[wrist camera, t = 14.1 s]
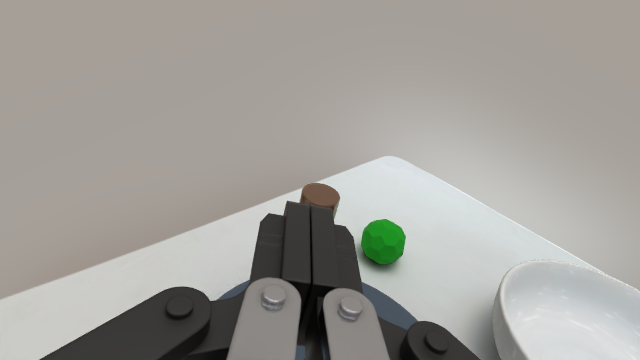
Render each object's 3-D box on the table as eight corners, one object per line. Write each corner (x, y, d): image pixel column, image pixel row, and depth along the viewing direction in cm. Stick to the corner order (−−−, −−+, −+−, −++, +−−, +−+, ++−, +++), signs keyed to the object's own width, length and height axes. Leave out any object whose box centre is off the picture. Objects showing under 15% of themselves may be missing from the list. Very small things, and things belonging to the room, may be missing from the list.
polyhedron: (348, 255, 43) (359, 223, 41) (368, 236, 47) (379, 205, 44) (387, 279, 41) (401, 247, 39) (404, 257, 45) (418, 226, 42)
